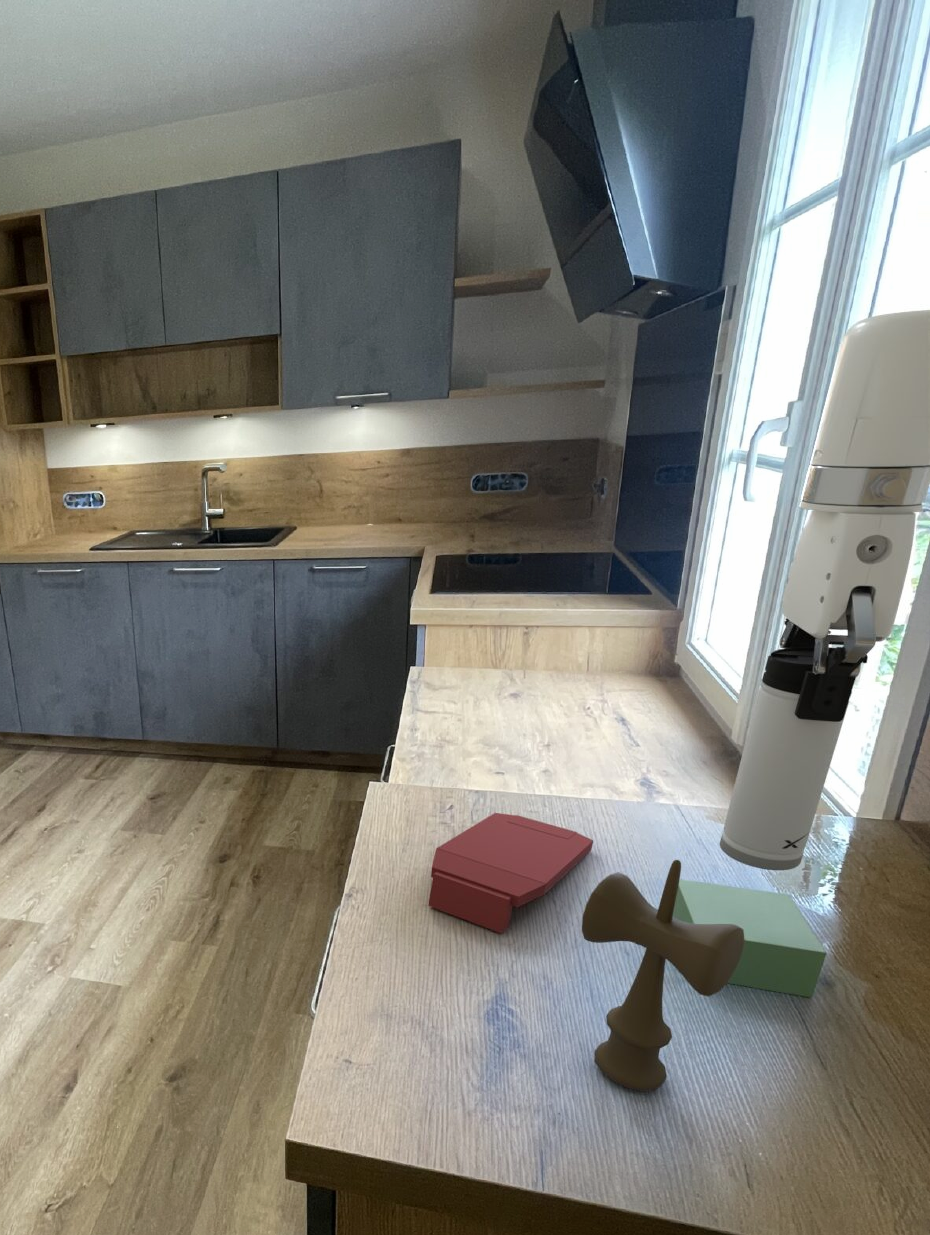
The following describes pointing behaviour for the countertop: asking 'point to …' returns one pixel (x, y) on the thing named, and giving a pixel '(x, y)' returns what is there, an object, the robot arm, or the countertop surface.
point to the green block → (758, 934)
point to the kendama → (653, 971)
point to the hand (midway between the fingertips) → (803, 704)
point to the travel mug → (779, 769)
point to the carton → (501, 867)
